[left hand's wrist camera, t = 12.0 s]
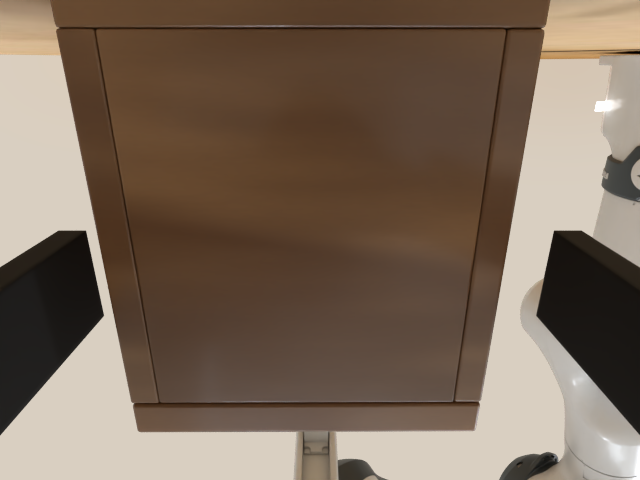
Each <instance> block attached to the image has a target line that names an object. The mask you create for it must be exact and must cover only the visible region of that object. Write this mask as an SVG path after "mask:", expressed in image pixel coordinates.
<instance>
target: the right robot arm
mask: <svg viewBox="0 0 640 480" xmlns="http://www.w3.org/2000/svg"><path fill="white" fill-rule="evenodd" d="M599 65H611V68H610V74H609V80H608V87H607V93H606V99H605V101H604V102H597V103H596V108H595V111H604V112H603V118H602V125H601V132H602V133H603V135H604V136H605V137H606V138H607V140H608V142H609V144H610V147H611V151H612V154H611V155H610V156H608V157H607V161H606V166H605V168H604V170H603V174H602V175H603V180H602V187H603V188H604V189H605V190H604V194H603V198H602V202H601V206H600V210H599V214H598V218H597V222H596V226H595V230H594V234H593V238H594V239H595V240H597V241H599V242H600V243H602V244H603V245H605V246H607V247H608V248H610V249H611V250H613V251H615V252H616V253H618V254H619V255H621V256H623V257H624V258H626V259H627V260H629V261H631V262H632V263H634V264H635V265H637V266H639V267H640V55H608V56H600V60H599ZM543 281H544V279H542V280H540V281H538V282H537V283H536V284H534V285H533V286H532V287H531V288H530V289H529V290H528V292H527V293H526V295H525V297H524V299H523V301H522V305H521V310H520V318H521V324H522V326H523V328H524V330H525V331H526V332H527V333H528V334H529V335H530V337H531V338H532V339H533V340H534V341H535V343H536V344H537V345H538V347H539V348H540V350H541V351H542V353H543V354H544V356H545V358H546V359H547V361H548V363H549V365H550V367H551V369H552V371H553V373H554V375H555V377H556V380H557V382H558V384H559V387H560V389H561V392H562V394H563V398H564V405H565V451H564V455H563V457H562V459H561V460H560V461H559V462H558V457H557V455H555V454H553V453H550V452H546V453H543V454H541V455H538V454H530V455H525V456H521V457H518V458H516V459H515V460H514V461H512V462H511V463H510V464H509V465H508V466H507V468H506V469H505V470H504V472H503V473H502V475H501V477H500V479H499V480H640V435H639V434H638V433H637V432H636V430H635V429H634V428H633V427H632V426H631V425H630V423H629V422H628V421H627V420H626V419H625V418H624V417H623V415H622V414H621V413H620V412H619V411H618V410H617V408H616V407H615V406H614V405H613V404H612V403H611V402H610V400H609V399H608V398H607V397H606V396H605V395H604V393H603V392H602V391H601V390H600V389H599V388H598V387H597V385H596V384H595V383H594V382H593V381H592V380H591V379H590V377H589V376H588V375H587V374H586V373H585V372H584V370H583V369H582V368H581V367H580V366H579V365H578V364H577V362H576V361H575V360H574V359H573V358H572V357H571V355H570V354H569V353H568V352H567V351H566V350H565V349H564V347H563V346H562V345H561V344H560V343H559V342H558V340H557V339H556V338H555V337H554V336H553V335H552V334H551V332H550V331H549V330H548V329H547V328H546V327H545V326H544V324H543V323H542V322H541V321H540V320H539V319H538V317H537V316H536V314H537V309H538V304H539V299H540V295H541V290H542V285H543ZM294 480H386V479H384V478H381V477H379V476H378V475H376V474H375V473H374V471H373V470H372V469H371V467H370V466H369V464H368V463H367V462H365V461H363V460H358V459H342V460H338V459H337V439H336V431H332V432H296V448H295V465H294Z"/></svg>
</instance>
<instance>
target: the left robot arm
mask: <svg viewBox="0 0 640 480" xmlns="http://www.w3.org/2000/svg"><path fill="white" fill-rule="evenodd" d="M103 316H104V314H103V309H102V305H101V299H100V295H99V290H98V286H97V281H96V276H95V271H94V267H93V262H92V257H91V252H90V248H89V243H88V238H87V234H86V231H57V232H56V233H54V234H53V235H51V236H49V237H48V238H46V239H45V240H43V241H41V242H40V243H38V244H37V245H35V246H33V247H32V248H30V249H29V250H27V251H25V252H24V253H22V254H21V255H19V256H17V257H16V258H14V259H13V260H11V261H10V262H8V263H6V264H5V265H3V266H1V267H0V435H1V434H2V433H3V432H4V430H5V429H6V428H7V427H8V426H9V425H10V423H11V422H12V421H13V420H14V419H15V418H16V417H17V415H18V414H19V413H20V412H21V411H22V410H23V408H24V407H25V406H26V405H27V404H28V403H29V402H30V400H31V399H32V398H33V397H34V396H35V395H36V393H37V392H38V391H39V390H40V389H41V388H42V387H43V385H44V384H45V383H46V382H47V381H48V380H49V379H50V377H51V376H52V375H53V374H54V373H55V372H56V370H57V369H58V368H59V367H60V366H61V365H62V364H63V362H64V361H65V360H66V359H67V358H68V357H69V355H70V354H71V353H72V352H73V351H74V350H75V349H76V347H77V346H78V345H79V344H80V343H81V342H82V340H83V339H84V338H85V337H86V336H87V335H88V334H89V332H90V331H91V330H92V329H93V328H94V327H95V325H96V324H97V323H98V322H99V321H100V320H101V319H102V317H103ZM536 316H537V317H538V319H539V320H540V321H541V322H542V323H543V324H544V326H545V327H546V328H547V329H548V330H549V331H550V332H551V334H552V335H553V336H554V337H555V338H556V339H557V340H558V342H559V343H560V344H561V345H562V346H563V347H564V349H565V350H566V351H567V352H568V353H569V354H570V355H571V357H572V358H573V359H574V360H575V361H576V362H577V364H578V365H579V366H580V367H581V368H582V369H583V370H584V372H585V373H586V374H587V375H588V376H589V377H590V379H591V380H592V381H593V382H594V383H595V384H596V385H597V387H598V388H599V389H600V390H601V391H602V392H603V393H604V395H605V396H606V397H607V398H608V399H609V400H610V402H611V403H612V404H613V405H614V406H615V407H616V408H617V410H618V411H619V412H620V413H621V414H622V415H623V417H624V418H625V419H626V420H627V421H628V422H629V423H630V425H631V426H632V427H633V428H634V429H635V430H636V432H637V433H638V434H639V435H640V267H639V266H637V265H635V264H634V263H632V262H631V261H629V260H627V259H626V258H624V257H623V256H621V255H619V254H618V253H616V252H615V251H613V250H611V249H610V248H608V247H607V246H605V245H603V244H602V243H600V242H599V241H597V240H595V239H594V238H592V237H591V236H589V235H587V234H586V233H584V232H583V231H554V234H553V238H552V243H551V248H550V252H549V257H548V262H547V266H546V271H545V276H544V281H543V285H542V290H541V295H540V299H539V304H538V309H537V314H536Z"/></svg>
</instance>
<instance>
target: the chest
mask: <svg viewBox="0 0 640 480" xmlns="http://www.w3.org/2000/svg"><path fill="white" fill-rule="evenodd" d="M50 1H51V6H52V11H53V16H54V21H55V24H56V26H57V27H59V29H57V30H56V33H57V38H58V43H59V48H60V53H61V58H62V62H63V67H64V72H65V77H66V82H67V87H68V92H69V97H70V102H71V107H72V112H73V117H74V121H75V126H76V131H77V136H78V141H79V146H80V151H81V156H82V161H83V166H84V171H85V176H86V181H87V185H88V190H89V195H90V200H91V205H92V210H93V215H94V220H95V225H96V230H97V235H98V240H99V244H100V249H101V254H102V259H103V264H104V269H105V274H106V279H107V284H108V289H109V294H110V299H111V304H112V309H113V313H114V318H115V323H116V328H117V333H118V338H119V343H120V348H121V353H122V358H123V363H124V368H125V372H126V377H127V382H128V387H129V392H130V397H131V402H132V403H158V402H159V401H160V402H161V403H233V402H452V401H453V399H454V400H455V401H457V402H471V401H480V400H481V397H482V391H483V385H484V379H485V373H486V368H487V362H488V356H489V350H490V345H491V339H492V333H493V327H494V321H495V316H496V310H497V304H498V298H499V292H500V287H501V281H502V275H503V269H504V264H505V258H506V252H507V246H508V241H509V235H510V229H511V223H512V217H513V212H514V206H515V200H516V194H517V188H518V183H519V177H520V171H521V165H522V160H523V154H524V148H525V142H526V136H527V131H528V125H529V119H530V113H531V108H532V102H533V96H534V90H535V85H536V79H537V73H538V67H539V61H540V56H541V50H542V44H543V38H544V30H542V29H541V28H543V27H545V25H546V22H547V16H548V10H549V4H550V0H50Z"/></svg>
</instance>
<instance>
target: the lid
mask: <svg viewBox="0 0 640 480" xmlns="http://www.w3.org/2000/svg"><path fill="white" fill-rule="evenodd" d="M479 407H480V404H479V401H471V402H457V401H455V400H454V399H453V401H452V402H233V403H161V402H160V401H159V402H158V403H134V405H133V409H134V414H135V419H136V423H137V429H138V431H139V432H332V431H474V430H475V429H476V424H477V419H478V413H479Z"/></svg>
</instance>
